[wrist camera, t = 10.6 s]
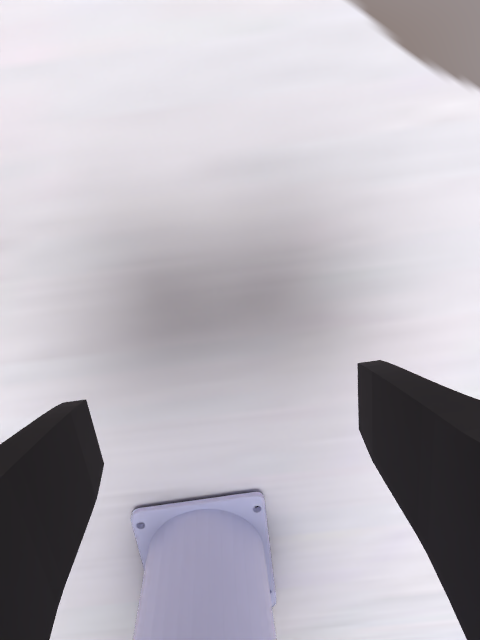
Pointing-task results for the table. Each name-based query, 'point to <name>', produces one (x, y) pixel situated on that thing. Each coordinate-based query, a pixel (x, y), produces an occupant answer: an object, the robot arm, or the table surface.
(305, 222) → the table surface
